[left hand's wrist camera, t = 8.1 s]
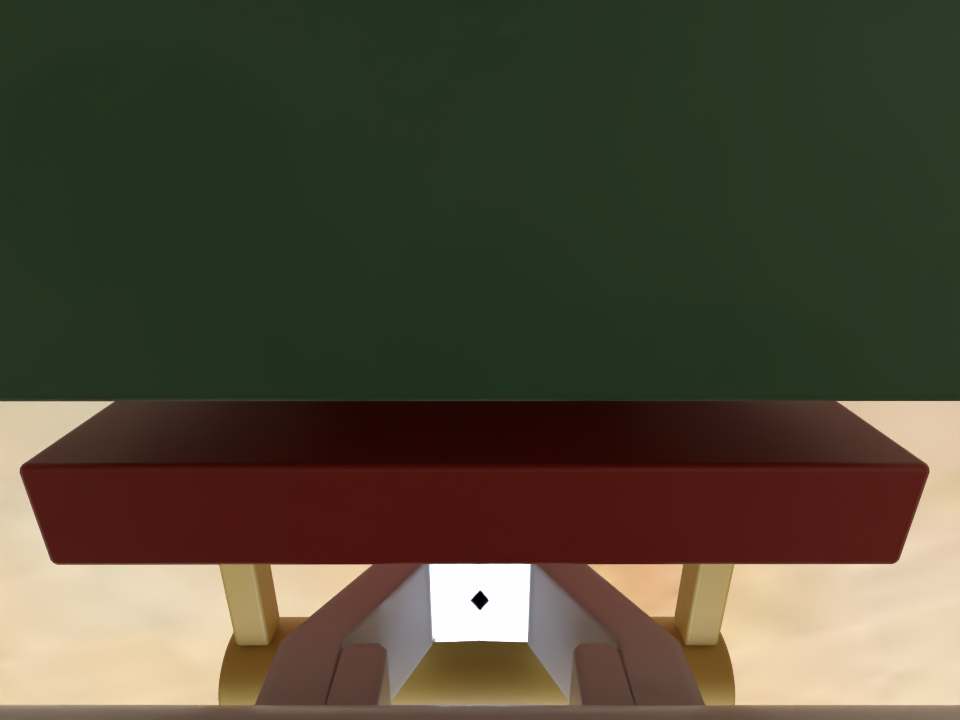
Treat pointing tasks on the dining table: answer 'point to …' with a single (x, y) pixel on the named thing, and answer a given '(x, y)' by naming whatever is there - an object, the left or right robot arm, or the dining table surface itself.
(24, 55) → the cabinet
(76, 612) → the dining table surface
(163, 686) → the dining table surface
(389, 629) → the left robot arm
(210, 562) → the drawer
